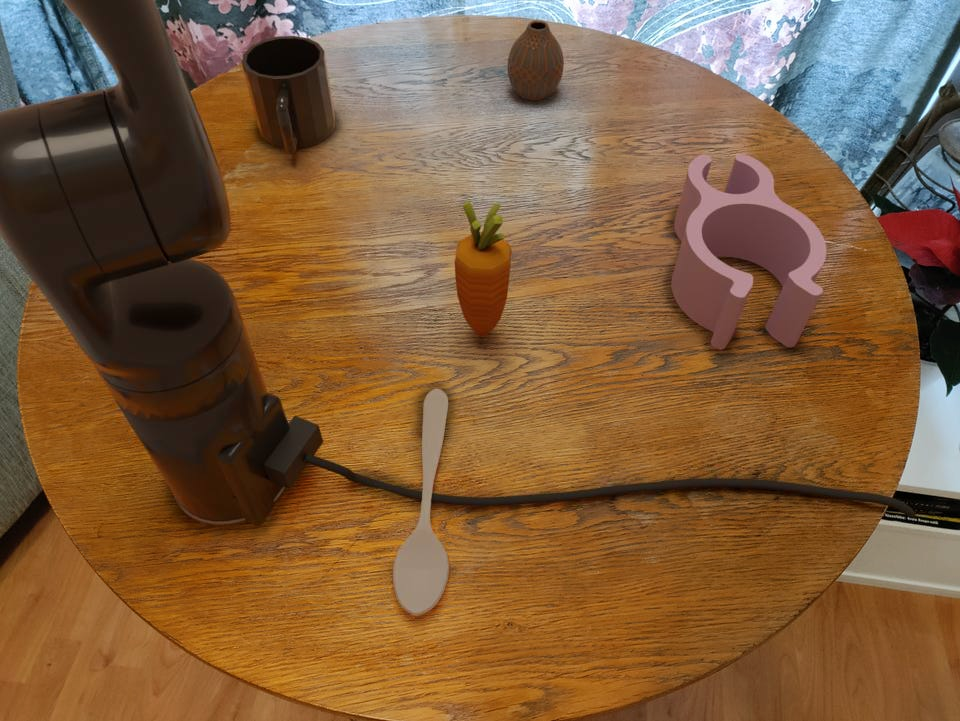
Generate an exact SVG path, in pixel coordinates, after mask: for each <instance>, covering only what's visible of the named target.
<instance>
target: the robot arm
mask: <svg viewBox="0 0 960 721" xmlns="http://www.w3.org/2000/svg"><path fill="white" fill-rule="evenodd" d="M61 2H62V3H63V4H64V5H65V7H67V9H68V10H69V11H70V13H72V14H73V16H75V18H76V19H77V20H78V21H79V22H80V23H81V25H82V26H83V28H84V29H85V30H86V31H87V33H88V35H89V36H90V37H91V39H92V40H93V41H94V42H95V45H97V47H98V49H100V51H101V52H102V54H103V55H104V57H105V59H106V60H107V61H108V63H109V65H110V67H112V70H113V72H114V74H115V75H116V77H117V80H118V81H117V84H116V85H113V86H109V87H108V86H107V87H106V88H105V89H103V88H100V89H99V88H98V89H95V90H90V91H87V92H81V93H77V94H73V95H68V96H63V97H59V98H55V99H49V100H46V101H41V102H36V103H32V104H28V105H22V106H19V107H14V108H10V109H6V110H2V111H0V236H1V237H2V239H3V241H4V242H5V244H6V245H7V246H8V249H9V250H10V251H11V252H12V254H13V255H14V257H15V258H16V260H17V261H18V262H19V264H20V265H21V267H22V268H23V269H24V271H25V272H26V274H27V275H28V276H29V278H30V279H31V280H32V281H33V283H34V284H35V285H36V287H37V288H38V289H39V290H40V292H41V294H42V295H43V296H44V297H45V299H46V300H47V301H48V303H49V304H50V306H51V307H52V308H53V310H54V311H55V313H56V314H57V316H59V318H60V320H61V321H62V323H63V324H64V325H65V327H66V328H67V330H68V331H69V333H70V334H71V336H72V338H73V339H74V341H75V342H76V344H77V345H78V347H79V348H80V350H81V351H82V352H83V354H84V355H85V356H86V357H87V359H89V360H90V363H92V366H93V367H94V368H95V370H96V372H97V373H98V375H99V377H100V378H101V380H102V381H103V383H104V384H105V386H106V388H107V389H108V391H109V393H110V394H111V396H112V397H113V399H114V401H115V403H116V404H117V406H118V408H119V409H120V411H121V413H122V415H124V417H125V419H126V420H127V422H128V423H129V425H130V427H131V428H132V430H133V432H134V433H135V435H136V436H137V438H138V440H139V441H140V443H141V445H142V446H143V448H144V450H145V451H146V452H147V455H148V456H149V457H150V459H151V461H152V462H153V464H154V465H155V467H156V469H157V470H158V472H159V474H160V476H161V477H162V478H163V480H164V481H165V483H166V484H167V486H168V488H169V489H170V490H171V492H172V496H173V498H174V499H175V501H176V503H177V505H178V507H179V508H180V510H182V511H183V513H184V514H185V515H186V516H188V517H189V518H190V519H192V520H193V521H195V522H197V523H200V524H202V525H205V526H209V527H219V528H224V527H226V528H227V527H233V526H240V525H243V524H246V523H247V524H250V525H253V526H255V527H261V525H263V524H264V522H265V520H266V519H267V518H268V516H269V515H270V513H271V512H272V510H273V509H274V508H275V506H276V505H277V503H278V502H279V501H280V500H281V499H282V497H283V496H284V495H285V493H286V492H287V490H291V489H292V488H293V487H294V485H295V484H296V483H297V481H298V479H299V478H300V477H301V475H302V474H303V472H304V471H305V469H306V468H307V466H308V465H311V466H315V467H316V468H320V469H323V470H326V471H329V472H331V473H334V474H336V475H340V476H342V477H343V478H345V479H347V480H348V481H350V482H353V483H356V484H359V485H362V486H365V487H369V488H375V489H380V490H383V491H387V492H390V493H393V494H396V495H398V496H401V497H403V498H407V499H412V500H415V501H421V502H422V492H423V491H420V490H416V489H410V488H406V487H402V486H398V485H394V484H392V483H387V482H384V481H381V480H377V479H374V478H372V477H368V476H365V475H362V474H358V473H357V472H354V471H353V470H352V469H351V468H349V467H347V466H345V465H341V464H339V463H337V462H334V461H330V460H328V459H325V458H322V457H319V456H316V454H317V452H318V451H319V450H320V448H321V446H322V445H323V443H324V439H323V436H322V432H321V428H320V425H318V424H317V423H314V422H312V421H309V420H308V419H304V418H302V417H300V416H297V415H294V416H293V417H292V418H291V420H288V418H287V415H286V413H285V412H286V411H285V410H284V406H283V404H282V401H281V398H280V397H279V396H277V395H275V394H272V393H270V392H269V391H268V388H267V387H266V383H265V380H264V377H263V375H262V372H261V369H260V366H259V364H258V360H257V358H256V355H255V352H254V349H253V346H252V344H251V340H250V337H249V335H248V331H247V329H246V326H245V323H244V320H243V317H242V314H241V310H240V307H239V305H238V302H237V299H236V297H235V294H234V293H233V292H234V291H233V290H232V288H231V286H230V284H229V283H228V281H227V280H226V279H225V278H224V276H222V274H220V272H218V271H217V270H216V269H214V268H213V267H212V266H210V265H208V264H207V263H204V262H201V261H200V260H197V259H193V258H197V257H200V256H203V255H205V254H208V253H211V252H213V251H215V250H217V249H219V248H221V247H222V246H223V245H224V244H225V243H226V241H227V240H228V239H229V236H230V232H231V221H232V217H231V207H230V201H229V198H228V194H227V190H226V185H225V181H224V179H223V175H222V173H221V168H220V166H219V163H218V160H217V157H216V154H215V151H214V149H213V146H212V143H211V140H210V138H209V136H208V133H207V130H206V127H205V125H204V122H203V120H202V118H201V115H200V112H199V110H198V107H197V105H196V103H195V99H194V97H193V95H192V92H191V88H190V87H189V84H188V82H187V79H186V77H185V74H184V71H183V69H182V66H181V64H180V62H179V59H178V56H177V54H176V51H175V49H174V46H173V44H172V41H171V38H170V36H169V33H168V31H167V29H166V25H165V23H164V21H163V18H162V16H161V12H160V10H159V8H158V5H157V3H156V1H155V0H61ZM698 488H699V489H701V488H702V489H703V488H736V489H737V488H739V489H740V488H741V489H756V490H757V489H760V490H771V491H781V492H789V493H797V494H804V495H811V496H816V497H817V496H818V497H825V498H829V499H831V498H832V499H839V500H846V501H856V502H864V503H871V504H878V505H883V506H887V507H890V508H893V509H895V510H897V511H898V512H900V513H902V514H903V515H905V516H906V517H907V518H908V517H909V518H915V517H917V514H916V512H915V510H914V509H913V508H912V507H911V506H909V505H908V504H907V503H905V502H904V501H901V500H899V499H897V498H894V497H891V496H888V495H884V494H878V493H871V492H865V491H864V492H863V491H856V490H855V491H854V490H845V489H837V488H829V487H824V486H818V485H817V486H816V485H809V484H803V483H797V482H796V483H795V482H787V481H778V480H768V479H754V478H753V479H752V478H729V477H728V478H726V477H725V478H724V477H722V478H721V477H720V478H719V477H718V478H717V477H715V478H713V477H712V478H710V477H709V478H690V479H689V478H688V479H687V478H686V479H673V480H672V479H671V480H663V481H662V480H661V481H651V482H638V483H628V484H619V485H610V486H602V487H595V488H587V489H579V490H570V491H562V492H550V493H549V492H548V493H538V494H537V493H536V494H535V493H534V494H522V495H520V494H519V495H508V496H461V495H460V496H459V495H449V494H448V495H447V494H441V493H440V494H439V493H433V492H432V497H431V503H432V504H441V505H449V506H450V505H451V506H462V507H503V506H504V507H505V506H521V505H533V504H547V503H548V504H549V503H560V502H569V501H570V502H571V501H578V500H579V501H580V500H586V499H595V498H601V497H607V496H608V497H609V496H616V495H624V494H634V493H635V494H636V493H637V494H638V493H647V492H658V491H670V490H681V489H683V490H685V489H698Z"/></svg>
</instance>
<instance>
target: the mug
mask: <svg viewBox="0 0 960 721" xmlns="http://www.w3.org/2000/svg"><path fill="white" fill-rule="evenodd" d="M241 66H242V70H243V74H244V77H245V80H246V84H247V89H248V94H249V97H250V100H251V105H252V109H253V113H254V117H255V120H256V124H257V127H258V129H259V134H260V137H262V139H263V140H264V141H265V142H266V143H268V144H270V145H272V146H274V147H276V148H277V147H278V148H280V149H281V148H282V149H284V150H285V152H286V153H288V154H294V153H295V152H296V151H297V149H304V148H309V147H312V146H315V145H318V144H320V143H321V142H323V141H326V140H327V139H328V138H329V137H330V136H331V135H332V134H333V132H334V131H335V128H336V117H335V109H334V101H333V96H332V90H331V83H330V77H329V71H328V64H327V60H326V53H325V50H324V48H323V47H322V46H321V44H320V43H319V42H317V41H316V40H315V41H314V40H313V39H311V38H309V37H303V36H297V35H282V36H281V35H279V36H274V37H269V38H266V39H263V40H260V41H258V42H257V43H254V44H252V45H250V47H248V48H247V50H246V51H245V52H244V53H243V54H242V59H241Z"/></svg>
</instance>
